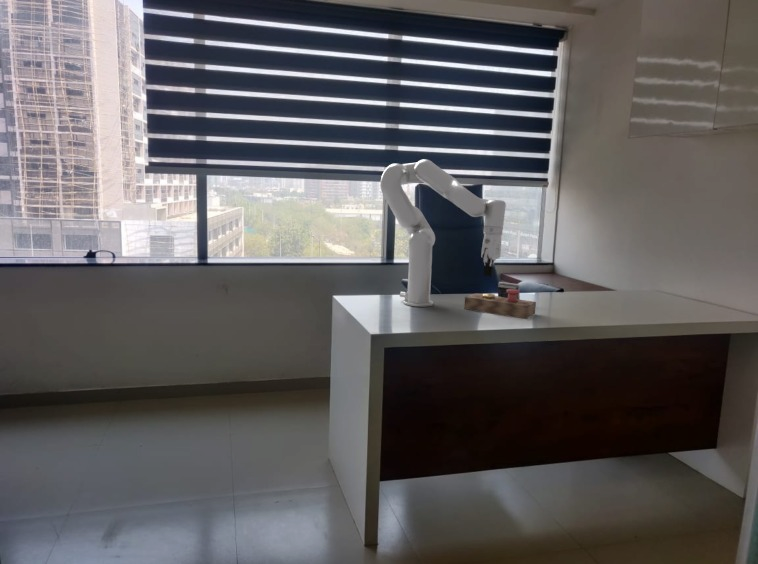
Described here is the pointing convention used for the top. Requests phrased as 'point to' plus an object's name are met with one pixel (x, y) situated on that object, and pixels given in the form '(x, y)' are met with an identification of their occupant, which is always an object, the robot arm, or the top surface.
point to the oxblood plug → (512, 295)
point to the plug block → (500, 306)
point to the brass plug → (488, 296)
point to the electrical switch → (503, 288)
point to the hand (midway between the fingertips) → (487, 275)
